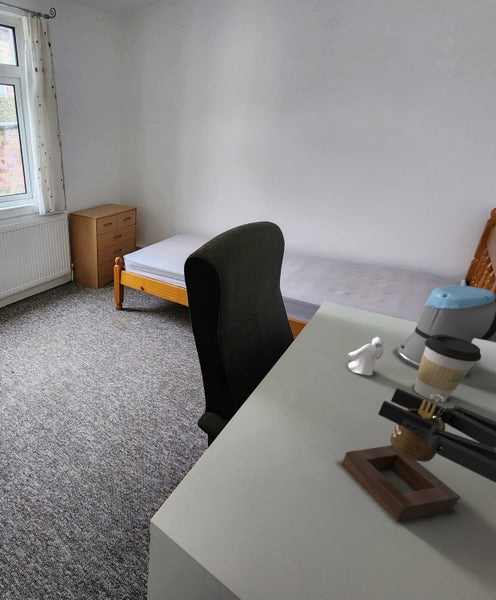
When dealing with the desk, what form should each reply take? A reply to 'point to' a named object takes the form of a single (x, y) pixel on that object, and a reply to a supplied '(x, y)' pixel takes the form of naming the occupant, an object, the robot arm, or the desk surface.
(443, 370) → the coffee cup
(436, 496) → the wooden frame
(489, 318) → the robot arm
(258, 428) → the desk surface
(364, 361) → the figurine
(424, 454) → the utensil holder
